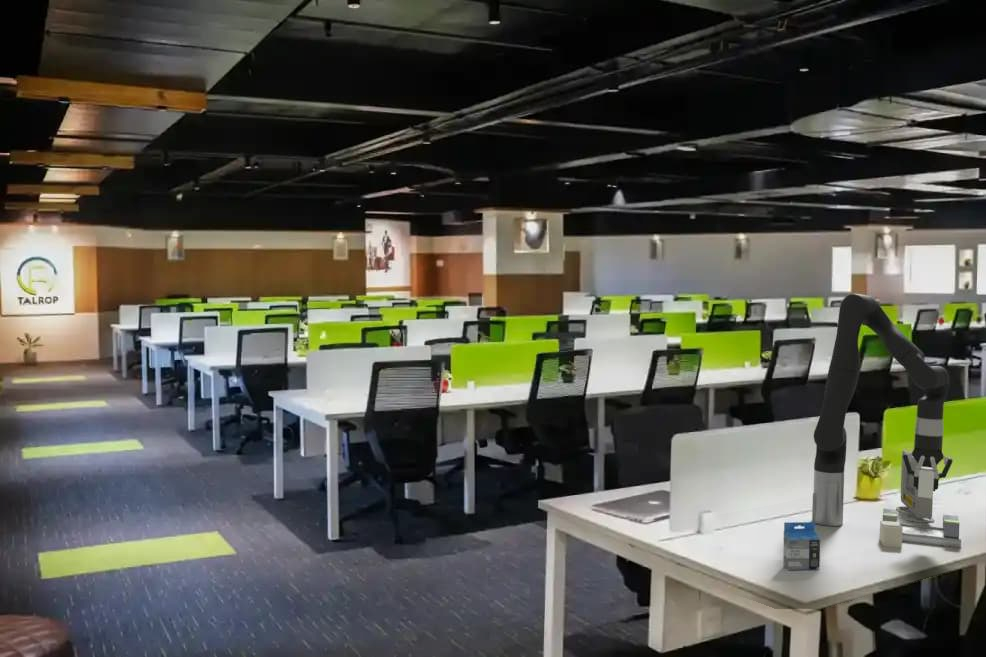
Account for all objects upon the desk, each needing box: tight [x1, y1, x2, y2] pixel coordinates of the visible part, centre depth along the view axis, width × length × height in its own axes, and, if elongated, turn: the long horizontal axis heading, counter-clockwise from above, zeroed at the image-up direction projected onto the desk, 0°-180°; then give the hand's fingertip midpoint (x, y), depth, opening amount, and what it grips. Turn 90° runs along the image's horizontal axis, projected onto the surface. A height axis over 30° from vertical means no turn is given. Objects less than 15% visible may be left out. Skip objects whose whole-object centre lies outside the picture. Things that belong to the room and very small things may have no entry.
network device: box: [895, 450, 935, 524], centre depth 304 cm, size 26×9×20 cm, turn 168°
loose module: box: [918, 467, 934, 498], centre depth 269 cm, size 4×6×8 cm
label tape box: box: [782, 521, 821, 571], centre depth 245 cm, size 9×4×12 cm, turn 93°
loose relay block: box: [879, 520, 903, 548], centre depth 270 cm, size 5×7×6 cm
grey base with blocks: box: [882, 508, 962, 549], centre depth 277 cm, size 22×13×7 cm, turn 66°
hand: (925, 489), depth 269 cm, fingers closed on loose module, 4 cm apart
